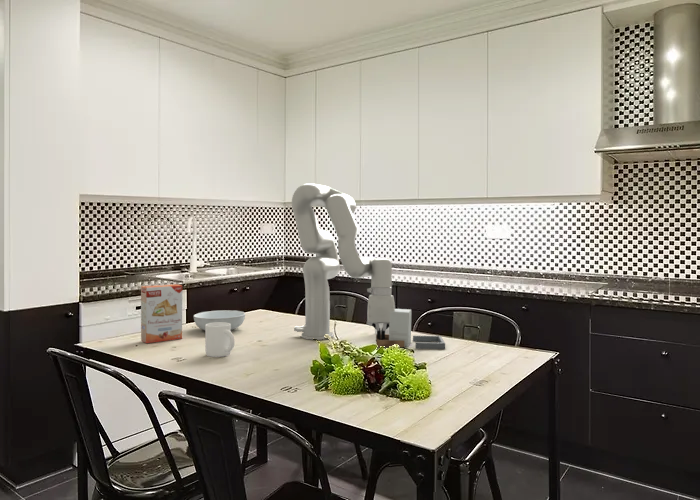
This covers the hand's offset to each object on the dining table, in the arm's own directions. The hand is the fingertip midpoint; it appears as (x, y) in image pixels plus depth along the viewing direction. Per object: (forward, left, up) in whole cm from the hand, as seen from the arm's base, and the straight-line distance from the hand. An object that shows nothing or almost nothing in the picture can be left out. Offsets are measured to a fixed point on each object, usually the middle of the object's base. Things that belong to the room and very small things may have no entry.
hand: (380, 340), depth 199 cm
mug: (-54, -21, -1) cm, 58 cm away
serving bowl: (-67, +22, -2) cm, 70 cm away
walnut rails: (+3, 0, -1) cm, 4 cm away
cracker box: (-83, +1, -1) cm, 83 cm away
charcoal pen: (+17, 0, -1) cm, 17 cm away
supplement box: (+7, 0, -1) cm, 7 cm away
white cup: (+1, +19, -1) cm, 19 cm away
